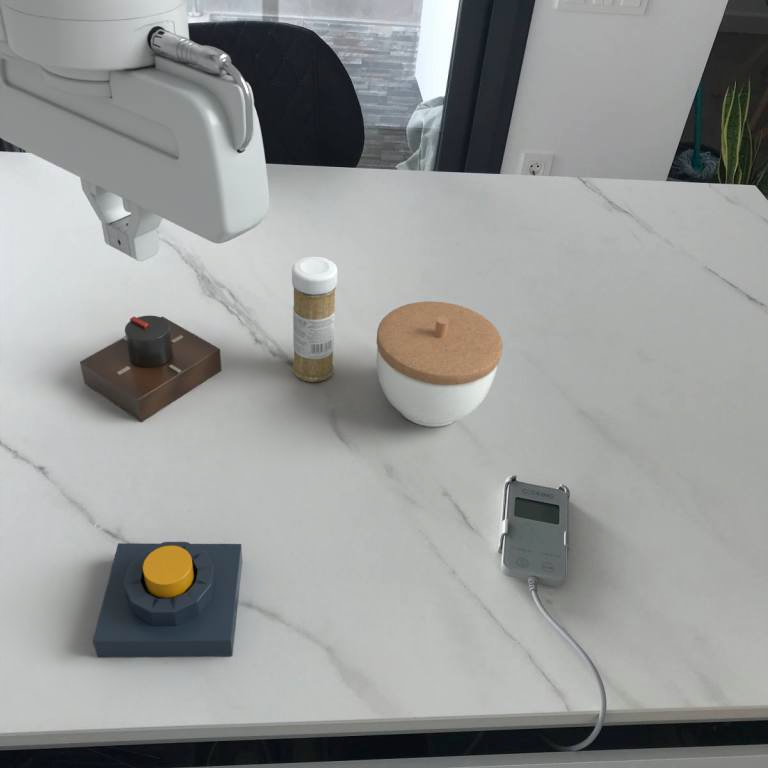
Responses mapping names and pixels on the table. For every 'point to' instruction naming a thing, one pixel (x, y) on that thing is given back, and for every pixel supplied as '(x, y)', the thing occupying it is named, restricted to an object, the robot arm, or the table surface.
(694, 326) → the table surface
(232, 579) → the button housing
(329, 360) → the sprinkles bottle
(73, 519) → the table surface
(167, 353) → the dial
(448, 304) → the decorative box
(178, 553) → the trigger button
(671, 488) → the table surface
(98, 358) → the dial panel
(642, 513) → the table surface
